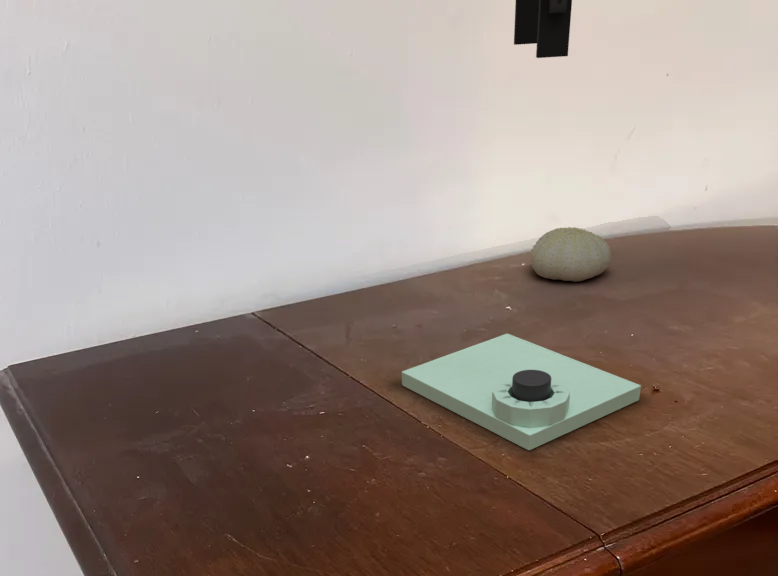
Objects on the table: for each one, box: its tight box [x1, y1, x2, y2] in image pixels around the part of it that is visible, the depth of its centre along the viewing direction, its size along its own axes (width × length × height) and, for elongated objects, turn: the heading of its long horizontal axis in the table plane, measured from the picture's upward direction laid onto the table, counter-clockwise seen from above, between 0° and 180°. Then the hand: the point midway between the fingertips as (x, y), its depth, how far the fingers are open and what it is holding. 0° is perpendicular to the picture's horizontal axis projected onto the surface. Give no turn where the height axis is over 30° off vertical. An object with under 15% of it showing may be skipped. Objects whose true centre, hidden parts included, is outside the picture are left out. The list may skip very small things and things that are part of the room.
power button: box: [512, 370, 551, 402], centre depth 64 cm, size 3×3×2 cm
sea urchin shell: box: [529, 226, 612, 283], centre depth 95 cm, size 9×8×8 cm
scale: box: [401, 333, 642, 451], centre depth 70 cm, size 16×13×3 cm
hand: (538, 50), depth 79 cm, fingers open, 13 cm apart
